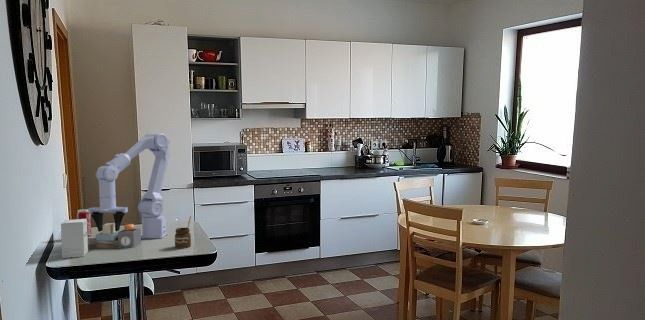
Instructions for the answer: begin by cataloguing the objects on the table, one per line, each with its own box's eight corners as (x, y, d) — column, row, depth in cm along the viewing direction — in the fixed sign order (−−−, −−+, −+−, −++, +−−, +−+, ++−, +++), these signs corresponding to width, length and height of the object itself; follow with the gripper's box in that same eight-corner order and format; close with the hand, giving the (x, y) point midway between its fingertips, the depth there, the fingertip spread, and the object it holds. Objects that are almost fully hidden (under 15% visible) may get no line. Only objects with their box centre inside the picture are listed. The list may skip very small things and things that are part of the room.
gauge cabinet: (140, 243, 185) (140, 228, 185) (133, 247, 178) (132, 232, 177) (125, 243, 185) (125, 228, 185) (117, 247, 178) (117, 232, 177)
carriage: (122, 236, 185) (121, 222, 185) (114, 240, 178) (113, 225, 178) (104, 236, 185) (104, 222, 185) (96, 240, 178) (95, 226, 178)
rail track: (126, 243, 186) (126, 231, 185) (117, 247, 178) (117, 236, 177) (84, 243, 186) (83, 232, 185) (73, 248, 178) (73, 236, 177)
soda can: (85, 239, 193) (84, 211, 192) (74, 239, 194) (73, 210, 193) (94, 236, 198) (93, 209, 197) (83, 236, 199) (82, 208, 198)
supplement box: (84, 256, 165) (83, 221, 165) (61, 258, 163) (59, 223, 162) (88, 251, 172) (87, 218, 172) (66, 253, 170) (65, 219, 170)
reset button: (135, 229, 183) (135, 224, 183) (132, 231, 180) (131, 225, 179) (126, 229, 183) (126, 224, 183) (122, 231, 180) (122, 225, 179)
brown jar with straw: (176, 245, 181) (175, 214, 181) (193, 244, 182) (192, 214, 181) (173, 248, 175) (172, 217, 175) (190, 248, 176) (189, 217, 175)
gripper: (83, 198, 176) (85, 233, 177) (121, 197, 177) (123, 232, 177) (93, 195, 184) (94, 229, 184) (129, 195, 184) (130, 229, 184)
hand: (108, 231), depth 181 cm, fingers open, 6 cm apart
